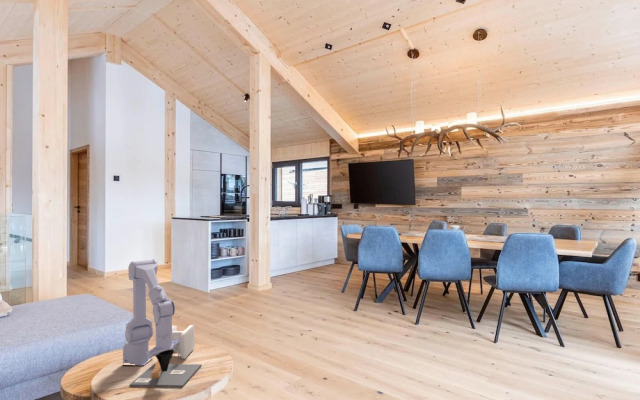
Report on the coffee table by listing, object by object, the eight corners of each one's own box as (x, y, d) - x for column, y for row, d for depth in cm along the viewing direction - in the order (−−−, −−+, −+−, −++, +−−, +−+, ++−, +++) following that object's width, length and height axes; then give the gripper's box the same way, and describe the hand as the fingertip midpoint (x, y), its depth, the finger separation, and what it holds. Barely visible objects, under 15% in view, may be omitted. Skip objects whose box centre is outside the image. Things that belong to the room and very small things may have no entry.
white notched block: (183, 362, 160) (183, 334, 160) (158, 362, 160) (158, 335, 160) (195, 348, 175) (194, 323, 175) (172, 349, 175) (172, 324, 175)
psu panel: (129, 386, 139) (129, 383, 139) (154, 365, 157) (154, 363, 157) (182, 387, 138) (182, 384, 138) (201, 366, 156) (201, 363, 156)
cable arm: (159, 367, 153) (159, 354, 153) (167, 367, 153) (166, 354, 153) (150, 386, 137) (150, 372, 137) (159, 385, 137) (159, 371, 137)
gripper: (156, 341, 133) (156, 380, 133) (186, 329, 146) (186, 364, 146) (141, 339, 136) (142, 377, 135) (172, 327, 149) (172, 361, 149)
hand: (164, 370), depth 141 cm, fingers closed
